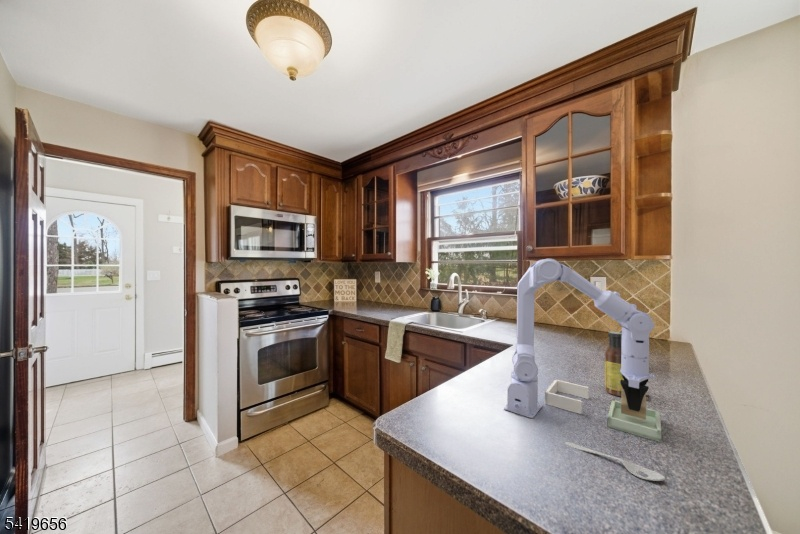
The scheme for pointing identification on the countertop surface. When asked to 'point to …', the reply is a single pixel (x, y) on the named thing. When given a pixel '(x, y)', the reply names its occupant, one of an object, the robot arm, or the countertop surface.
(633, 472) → the spoon
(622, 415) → the tray
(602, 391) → the countertop surface
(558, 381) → the bay
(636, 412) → the upright wooden block
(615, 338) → the sauce bottle
